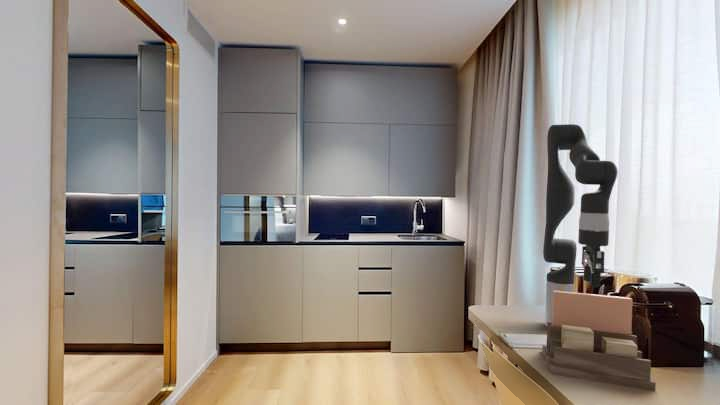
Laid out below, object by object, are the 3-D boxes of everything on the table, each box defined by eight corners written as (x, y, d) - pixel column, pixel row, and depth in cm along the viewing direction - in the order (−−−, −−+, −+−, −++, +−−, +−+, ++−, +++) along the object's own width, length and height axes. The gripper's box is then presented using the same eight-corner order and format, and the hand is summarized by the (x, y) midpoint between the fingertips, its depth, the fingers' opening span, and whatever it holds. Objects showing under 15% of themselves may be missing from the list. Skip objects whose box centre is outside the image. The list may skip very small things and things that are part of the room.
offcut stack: (560, 359, 108) (562, 324, 108) (630, 370, 102) (632, 333, 102) (563, 365, 104) (564, 329, 104) (636, 376, 99) (637, 338, 98)
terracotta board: (550, 349, 115) (552, 290, 115) (627, 360, 109) (630, 297, 109) (551, 351, 113) (554, 291, 113) (630, 362, 107) (632, 299, 107)
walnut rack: (542, 351, 118) (543, 319, 118) (632, 364, 111) (633, 330, 111) (550, 373, 103) (551, 337, 103) (655, 390, 96) (656, 351, 95)
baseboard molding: (610, 354, 119) (587, 340, 131) (611, 345, 119) (587, 332, 131) (512, 351, 119) (498, 337, 131) (512, 342, 119) (498, 329, 131)
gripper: (573, 226, 119) (571, 278, 119) (585, 229, 105) (582, 287, 105) (601, 228, 116) (599, 280, 117) (616, 231, 103) (614, 290, 103)
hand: (591, 283), depth 111 cm, fingers open, 8 cm apart
